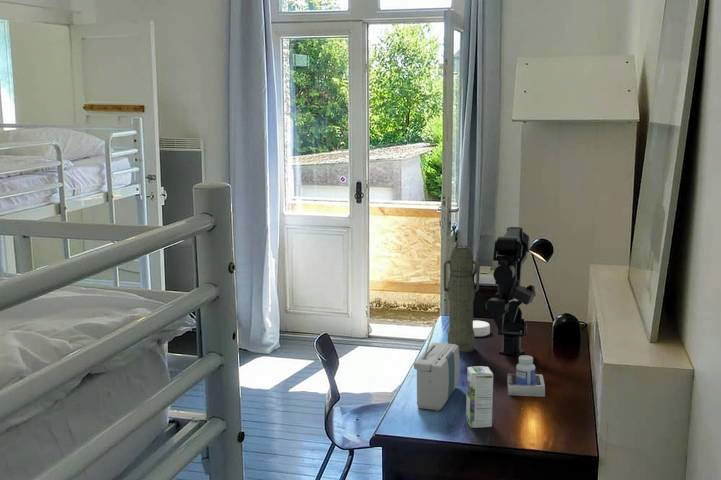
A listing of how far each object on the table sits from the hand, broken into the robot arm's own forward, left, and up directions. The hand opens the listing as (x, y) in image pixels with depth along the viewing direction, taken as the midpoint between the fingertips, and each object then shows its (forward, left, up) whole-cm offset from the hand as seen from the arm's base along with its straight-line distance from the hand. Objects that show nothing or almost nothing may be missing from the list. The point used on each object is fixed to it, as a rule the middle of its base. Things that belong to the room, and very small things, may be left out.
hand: (506, 326), depth 241 cm
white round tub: (-29, -24, -13) cm, 40 cm away
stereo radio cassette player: (+35, -6, -13) cm, 38 cm away
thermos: (-9, -20, -13) cm, 26 cm away
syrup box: (+45, +12, -13) cm, 48 cm away
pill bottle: (+16, +13, -13) cm, 24 cm away
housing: (+16, +13, -13) cm, 24 cm away
